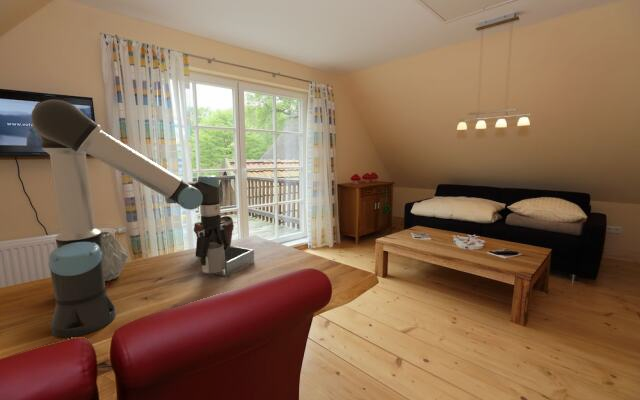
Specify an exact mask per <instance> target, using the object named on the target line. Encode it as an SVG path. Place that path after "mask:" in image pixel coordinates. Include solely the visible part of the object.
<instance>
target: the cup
mask: <svg viewBox="0 0 640 400" xmlns="http://www.w3.org/2000/svg"><path fill="white" fill-rule="evenodd" d="M206 257H208V264H209V273H208V274H211V273H217V272H220V271H222V270H224V269H225V262H224V245H223V244H221V245H220V244H218V243H217V242H216V243H210V244H209V248H208V251H207V255H206Z"/></svg>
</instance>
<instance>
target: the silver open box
mask: <svg viewBox="0 0 640 400" xmlns="http://www.w3.org/2000/svg"><path fill="white" fill-rule="evenodd" d="M253 263H255V249H252V248H247V247H241V246H233V245H232V246H230V247H229V248H227V249H225V269H224V270H222V271H220V272H217V273H210V274H213V275H216V276H221V277H225V278H229V277H230V276H232V275H234V274H235V273H237V272H239V271H241V270H243V269H244V268H246V267H248V266H250V265H252V264H253Z"/></svg>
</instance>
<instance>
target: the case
mask: <svg viewBox="0 0 640 400" xmlns="http://www.w3.org/2000/svg"><path fill="white" fill-rule="evenodd" d="M220 224H223V225H226V234H227V239H228V244H229V246H228V247H227V248H229V247H231V244H232V240H233V239H232V238H233V231H234V227H235V226H234V225H235V224H234V219H233V218H232V217H231V216H230V215H226V216H221V223H220ZM202 229H203V226H202V224H201V221H200V222H194V228H193V232H194V233H195V235H196V232H200V231H202ZM196 237H197V235H196ZM206 238H207V237H206ZM216 242H217V241H216V239H215V237H213V238H212V240H211V241H210V243H216Z"/></svg>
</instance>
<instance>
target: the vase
mask: <svg viewBox="0 0 640 400" xmlns="http://www.w3.org/2000/svg"><path fill="white" fill-rule="evenodd" d="M101 234H102V241H103V246H104V248H105V255H104V262H103V272H104V280H105V282H108V281H110V282H111V280H116V279H117V278H119V277H120V275H121V272H122V271H124V267H125V265H126V262H127V260H128V258H129V254H130V253H129V252H128V250H127V249H126V248H125V247H123V246H122V244H121V242H120V240H119V239H118V238H116V237H115V235H114V234H113V233H112V232H111V231H101Z"/></svg>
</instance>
